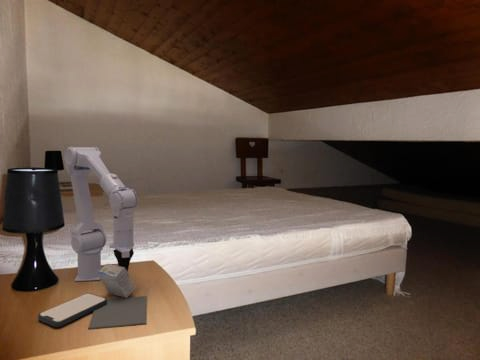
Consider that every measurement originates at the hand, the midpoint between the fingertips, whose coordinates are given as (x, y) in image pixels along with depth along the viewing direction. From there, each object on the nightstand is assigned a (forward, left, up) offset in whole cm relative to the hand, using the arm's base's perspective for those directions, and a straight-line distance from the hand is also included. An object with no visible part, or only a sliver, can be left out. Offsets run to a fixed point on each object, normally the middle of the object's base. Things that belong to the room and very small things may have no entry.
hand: (123, 272), depth 109 cm
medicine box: (+1, 0, -5) cm, 6 cm away
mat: (+12, 0, -6) cm, 14 cm away
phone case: (+10, -12, -6) cm, 17 cm away
